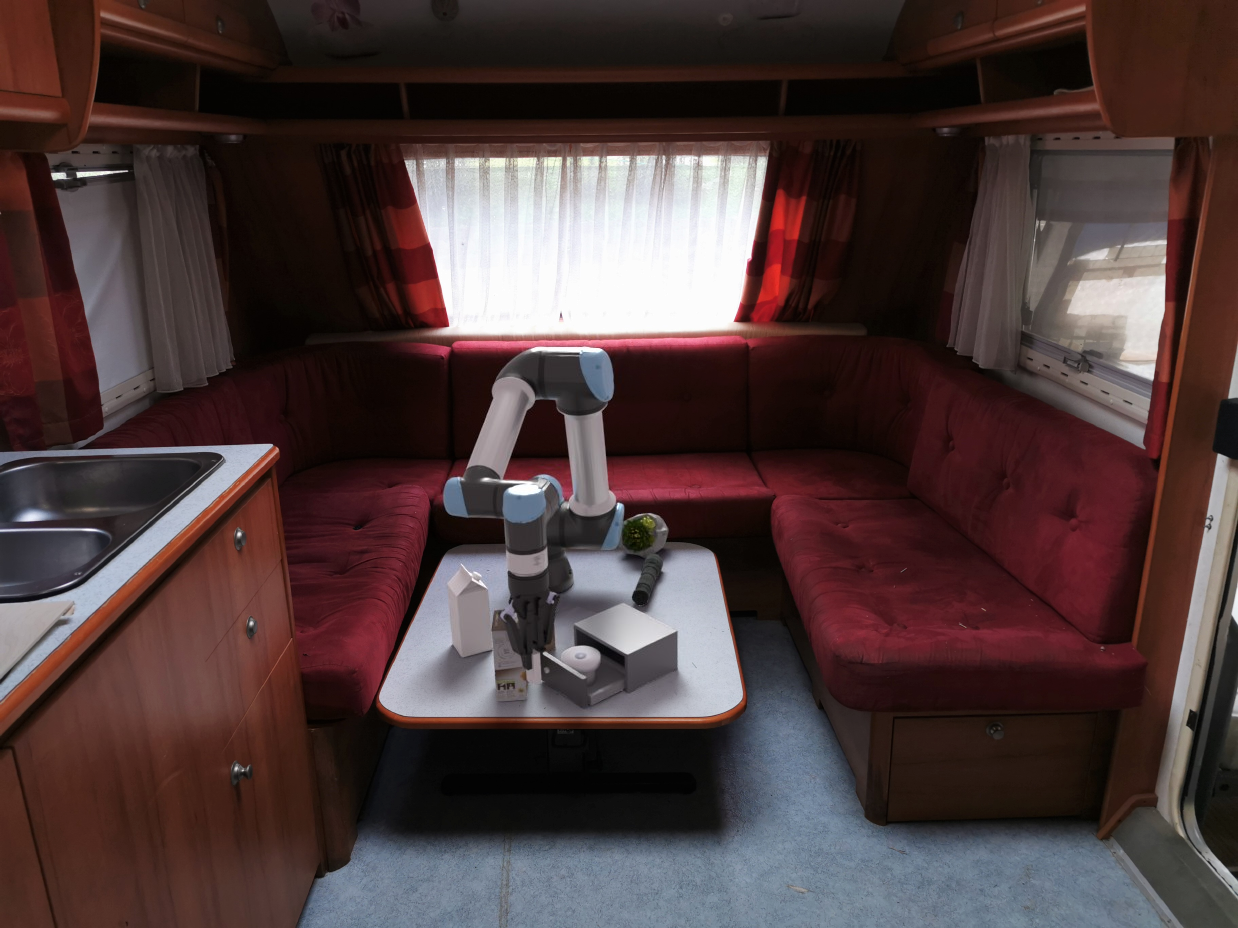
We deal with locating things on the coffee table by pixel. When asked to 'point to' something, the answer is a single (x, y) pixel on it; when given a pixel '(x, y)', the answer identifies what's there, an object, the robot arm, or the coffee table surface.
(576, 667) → the disc
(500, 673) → the coffee box
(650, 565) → the flashlight
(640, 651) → the housing
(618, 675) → the drawer
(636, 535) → the potted plant
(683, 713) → the coffee table surface
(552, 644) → the brown boxy piece
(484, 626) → the milk carton
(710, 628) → the coffee table surface
